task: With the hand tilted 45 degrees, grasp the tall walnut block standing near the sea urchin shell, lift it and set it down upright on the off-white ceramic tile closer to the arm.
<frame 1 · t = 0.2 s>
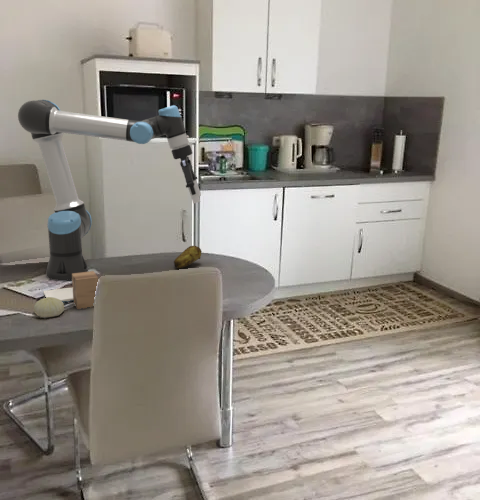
hand: (197, 199, 221), 28 cm above the table, tool tilted 20°, fingers open, 13 cm apart
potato: (187, 266, 229), on the table
sea urchin shell: (49, 314, 178), on the table
tile: (63, 297, 191), on the table
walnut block: (86, 304, 186), on the table
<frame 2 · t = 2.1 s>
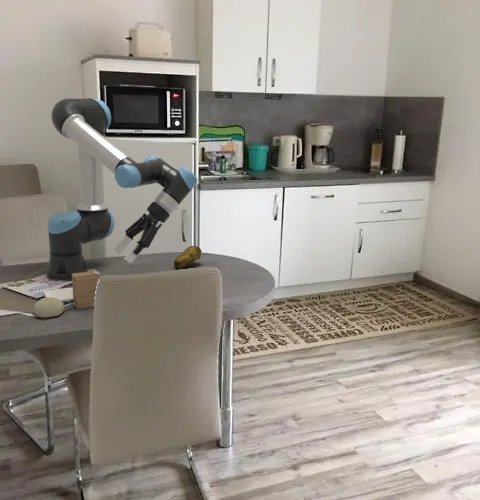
hand: (121, 256, 188), 15 cm above the table, tool tilted 45°, fingers open, 13 cm apart
nothing on the table moved.
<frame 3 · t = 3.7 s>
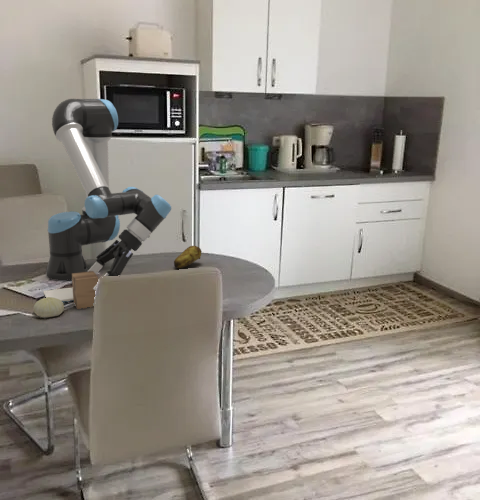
hand: (91, 284, 184), 7 cm above the table, tool tilted 45°, fingers open, 13 cm apart
nothing on the table moved.
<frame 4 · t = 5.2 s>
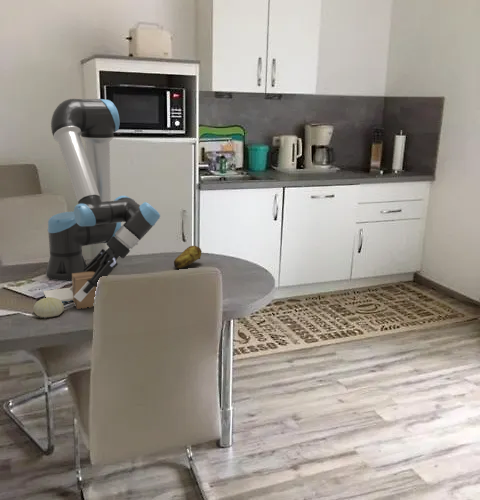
hand: (74, 295, 184), 4 cm above the table, tool tilted 45°, fingers closed on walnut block, 7 cm apart
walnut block: (86, 303, 186), on the table, touching gripper
everything else where it was.
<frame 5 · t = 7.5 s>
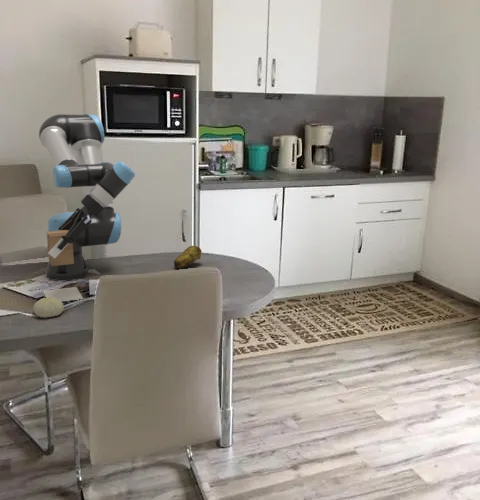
hand: (49, 252, 185), 16 cm above the table, tool tilted 45°, fingers closed on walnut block, 7 cm apart
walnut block: (61, 261, 188), point 13 cm above the table, touching gripper
everything else where it was.
when the fingers open (6 cm above the table, at t = 9.8 s): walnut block stays where it is, resting on tile.
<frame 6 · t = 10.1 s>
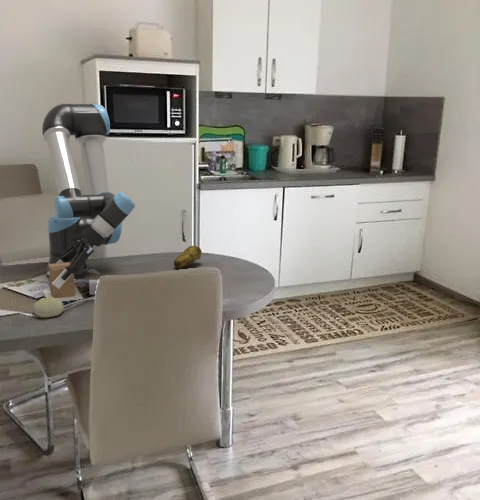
hand: (52, 281, 188), 6 cm above the table, tool tilted 45°, fingers open, 10 cm apart
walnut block: (62, 293, 191), point 1 cm above the table, touching tile
everything else where it was.
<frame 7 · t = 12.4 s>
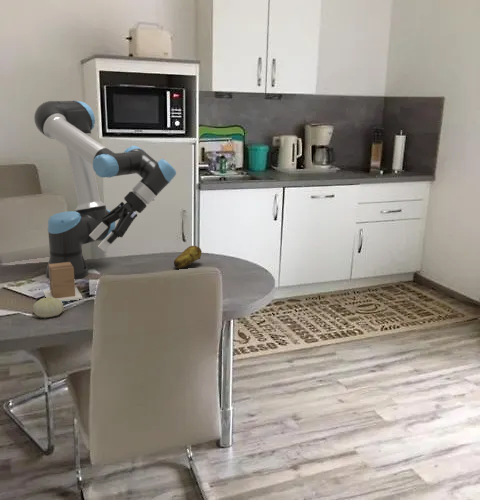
hand: (96, 243, 191), 18 cm above the table, tool tilted 45°, fingers open, 13 cm apart
nothing on the table moved.
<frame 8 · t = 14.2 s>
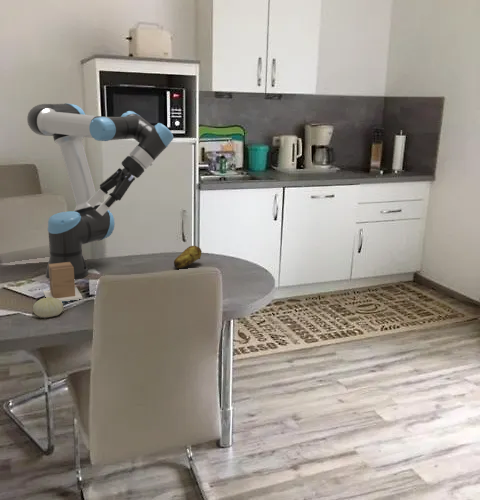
hand: (94, 209, 189), 30 cm above the table, tool tilted 45°, fingers open, 13 cm apart
nothing on the table moved.
at the end: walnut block inside the target area on the tile (0.1 cm from its centre), point 1.2 cm above the tile's base; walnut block tilted 0°; the gripper is holding nothing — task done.
